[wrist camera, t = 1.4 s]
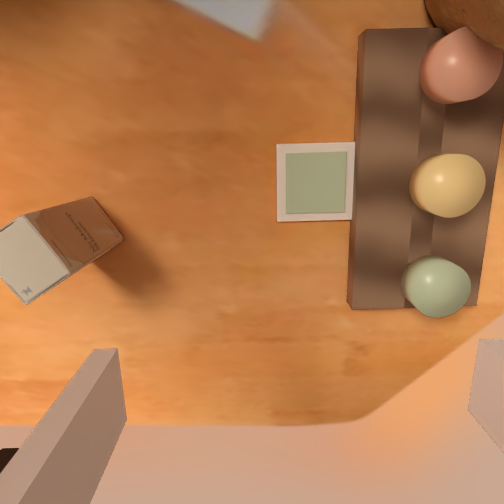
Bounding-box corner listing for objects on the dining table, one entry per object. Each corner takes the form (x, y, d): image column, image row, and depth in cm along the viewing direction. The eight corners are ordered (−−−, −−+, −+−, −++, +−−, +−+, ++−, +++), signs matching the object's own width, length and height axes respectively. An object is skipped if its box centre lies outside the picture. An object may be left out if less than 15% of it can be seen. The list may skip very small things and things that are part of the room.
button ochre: (401, 153, 32) (425, 154, 28) (456, 152, 32) (489, 153, 28) (396, 209, 34) (419, 218, 29) (449, 207, 34) (480, 216, 29)
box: (125, 239, 36) (74, 278, 25) (90, 262, 37) (26, 310, 26) (90, 192, 35) (20, 213, 24) (54, 217, 35) (-29, 248, 25)
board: (358, 36, 32) (365, 29, 30) (500, 32, 32) (517, 25, 30) (346, 301, 38) (352, 309, 36) (464, 297, 38) (476, 305, 36)
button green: (393, 249, 35) (415, 264, 30) (445, 247, 35) (474, 262, 30) (389, 297, 36) (409, 318, 31) (439, 295, 36) (467, 316, 31)
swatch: (276, 143, 34) (276, 143, 33) (353, 141, 34) (356, 141, 33) (276, 220, 36) (277, 222, 35) (350, 218, 36) (352, 220, 35)
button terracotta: (409, 43, 30) (438, 25, 26) (469, 42, 30) (508, 24, 26) (404, 107, 31) (430, 101, 27) (462, 106, 31) (497, 99, 27)
